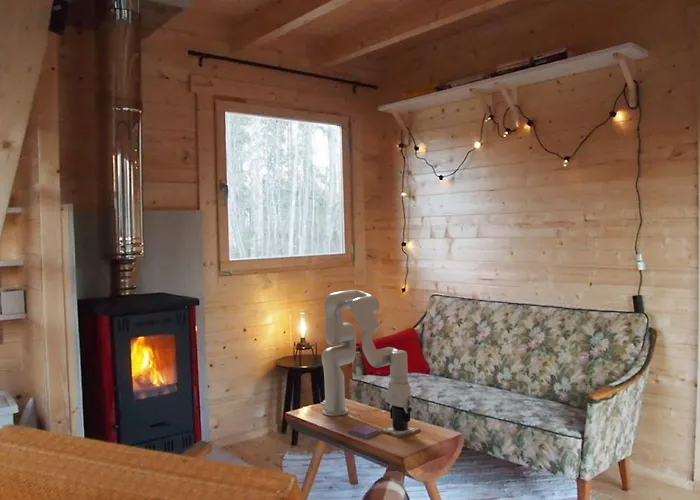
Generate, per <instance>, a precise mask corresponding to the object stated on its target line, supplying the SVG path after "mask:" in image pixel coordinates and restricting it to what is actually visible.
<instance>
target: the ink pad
mask: <svg viewBox="0 0 700 500" xmlns="http://www.w3.org/2000/svg"><path fill="white" fill-rule="evenodd" d="M347 434H348V435H352V436H355V437H358V438H362V439H365V440H368V439H371V438H373V437H375V436H378V435H380V434H382V433H381V430H380V429H377V428H373V427H369V426H365V425H359V426H357V427H354V428H352V429H350V430H347Z"/></svg>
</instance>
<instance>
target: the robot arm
mask: <svg viewBox="0 0 700 500" xmlns="http://www.w3.org/2000/svg"><path fill="white" fill-rule="evenodd" d="M380 306H381V305H380V302H379V300H378V299H377V298H376V297H375V296H374V295H372V294H370V293H367V292H365V291H362V290H360V289H349V290H341V291H335V292H332V293H330V294H328V295H327V296H326V298H325V300H324V311H325V333H324V334H325V335H324V336H325V338H324V339H325V341H326V343H327V344H328V345H330V346H331V345H333V346H331V347H328V348H326V349H324V350H323V351H322V353H321V363H322V366H323V376H324V377H323V378H324V400H323V401H322V402H320V405H321V406H322V407H323V409H322V414H323V415H325V416H331V417H338V416H343V415H347V414H348V413H349V412H350V411H349V410H350V409H349V408H348V407H346V397H345V396H346V395H345V393H346V392H345V391H346V390H345V374H344V372H343V370H342V369H341V366H345V365H348V364H351V363H353V362H354V360H355V359H356V358H355V357H356V351H357V347H356V346H357V331H356V327H355V326H354V325H353V324H352V323H351V322H344V313H343V311H342V310H349V309H350V311H351V313H352V315H353V317H354V318H355V320H356V323H357V324H358V326H359V328H360V330H361V333H362V336H361V349H362V352H363V354H364V356H365V358H366V360H367V362H368V363H369V364H370V366H371V367H373V368H381V367H385V366H389V369H390V371H389V373H390V374H389V375H388V377H389V379H390V380H389V382H388V386H387V396H385V398H384V401H385V402H386V405H387V407H388V409H389V411H390V412H389V413H390V414H389V415H390V416H389V417H390V419H391V420H392V408H393V407H394V406H397V407H402V408H404V410H405V413H404V422H408V423H409V422H410V421H411V413H412V411H413V410H414V408H415V407H416V404H415V402H414V401H413V400H412V392H411V387H410V383H409V371H408V368H409V366H408V353H407V351H406V350H403V349H397V348H396V347H391V346H387V347H384V348H379V349H377V348H376V345H375V343H374V341H373V340H374V339H373V336H374V333H375V332H376V331H378V330H379V328H380V326H381V325H380V323H379V320H378V319H377V316H376V315H375V314H376V313H377V312H378V311H379V310H380ZM406 407H407V408H406ZM407 409H408V410H407Z"/></svg>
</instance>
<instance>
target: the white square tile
mask: <svg viewBox="0 0 700 500" xmlns="http://www.w3.org/2000/svg"><path fill="white" fill-rule="evenodd" d="M380 431H381V433H380V434H385V435H389V436H393V437H396V438H399V439H406V438H407V437H410V436H412V435H414V434H417V433H419V432H421V428H419V427H415V426H411V425H408V428H407V429H405V430H395V429H393V427H392V425H391V426H388V427H386V428H384V429H381V430H380Z"/></svg>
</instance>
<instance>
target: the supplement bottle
mask: <svg viewBox="0 0 700 500" xmlns="http://www.w3.org/2000/svg"><path fill="white" fill-rule="evenodd" d="M406 408H407V407H406ZM407 410H408V409H407ZM404 413H405V410H404V408H402V407H397V406H394V407H393V408H392V419H391V420H392V421H391V422H392V423H391V424H392V425H391V426H392V427H393V429H395V430H405V429H407V428H408V426H409V422H404Z"/></svg>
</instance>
